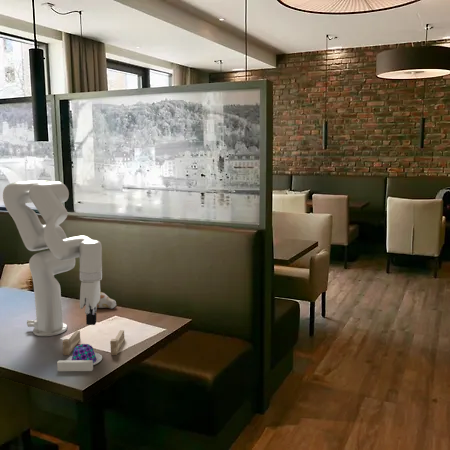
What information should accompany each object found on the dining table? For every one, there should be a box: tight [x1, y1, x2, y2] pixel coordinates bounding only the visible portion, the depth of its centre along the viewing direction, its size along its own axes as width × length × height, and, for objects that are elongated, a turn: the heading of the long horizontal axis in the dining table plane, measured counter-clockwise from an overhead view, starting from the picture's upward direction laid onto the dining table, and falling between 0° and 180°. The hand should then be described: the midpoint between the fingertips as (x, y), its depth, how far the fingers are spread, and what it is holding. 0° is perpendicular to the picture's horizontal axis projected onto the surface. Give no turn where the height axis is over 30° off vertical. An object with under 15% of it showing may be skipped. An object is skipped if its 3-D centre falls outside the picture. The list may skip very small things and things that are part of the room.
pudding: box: [65, 343, 103, 366], centre depth 162 cm, size 12×12×5 cm
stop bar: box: [56, 359, 94, 372], centre depth 155 cm, size 11×2×3 cm, turn 89°
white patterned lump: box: [96, 291, 118, 309], centre depth 215 cm, size 8×10×10 cm
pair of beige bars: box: [61, 330, 125, 356], centre depth 173 cm, size 18×14×5 cm
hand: (91, 323), depth 173 cm, fingers closed
